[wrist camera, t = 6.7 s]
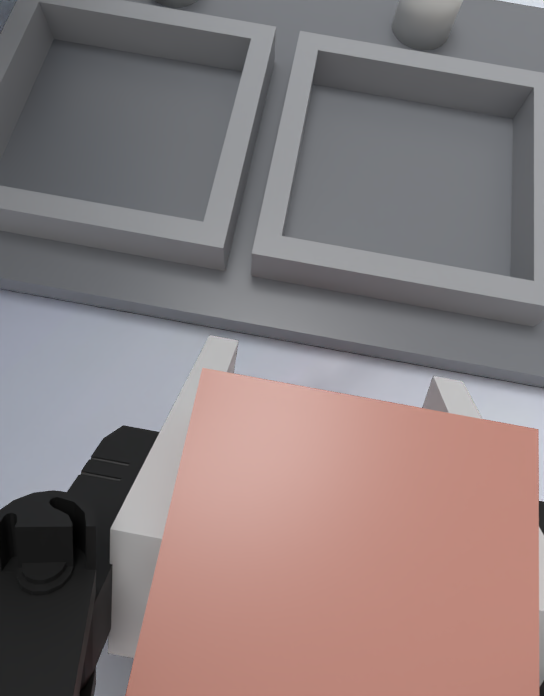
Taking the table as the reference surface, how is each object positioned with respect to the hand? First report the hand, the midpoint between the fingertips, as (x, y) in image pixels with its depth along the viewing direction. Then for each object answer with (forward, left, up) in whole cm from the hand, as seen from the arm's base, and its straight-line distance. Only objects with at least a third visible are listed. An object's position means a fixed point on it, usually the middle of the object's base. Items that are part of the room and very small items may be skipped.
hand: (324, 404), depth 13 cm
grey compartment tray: (+2, +11, -3) cm, 12 cm away
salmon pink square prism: (0, -4, -3) cm, 5 cm away
